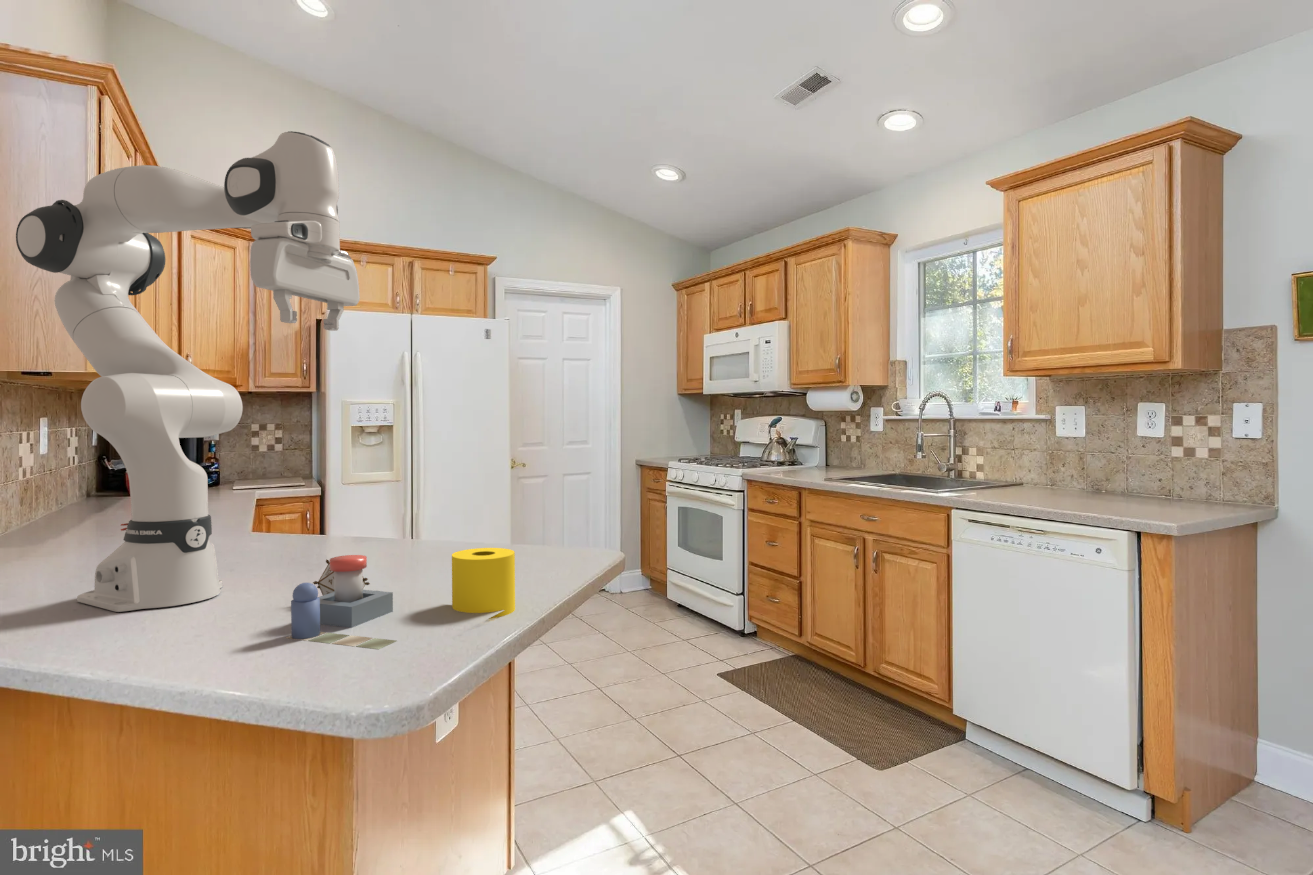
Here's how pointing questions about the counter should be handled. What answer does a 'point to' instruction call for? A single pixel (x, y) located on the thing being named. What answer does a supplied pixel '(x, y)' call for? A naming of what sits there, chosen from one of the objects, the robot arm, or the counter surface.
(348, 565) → the plunger
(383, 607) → the base
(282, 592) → the counter surface
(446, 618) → the counter surface
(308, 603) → the pawn
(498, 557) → the yellow hollow cylinder
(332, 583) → the game die
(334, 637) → the track board
